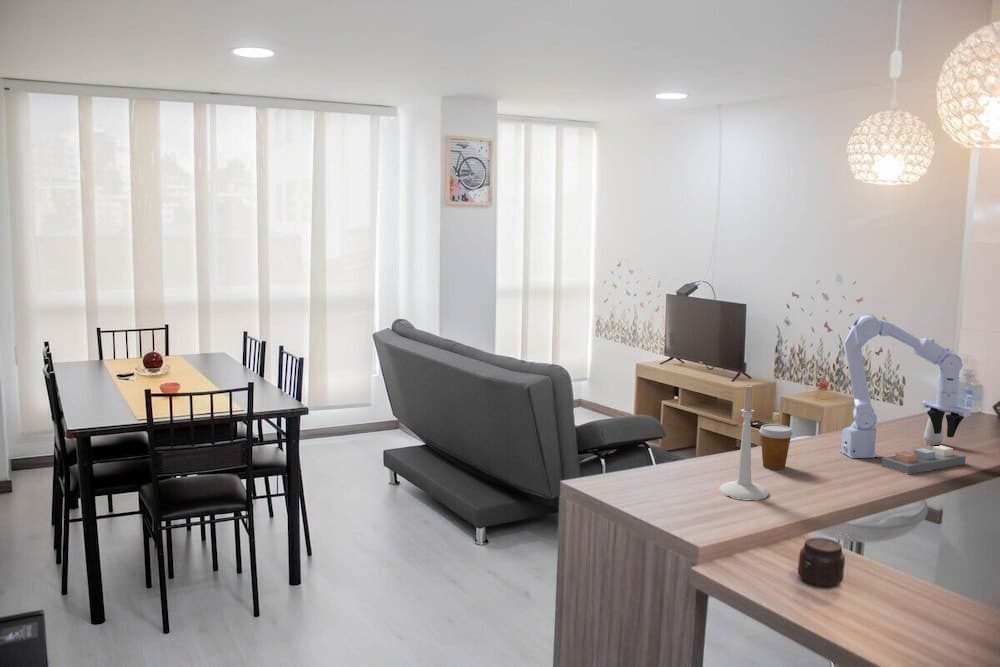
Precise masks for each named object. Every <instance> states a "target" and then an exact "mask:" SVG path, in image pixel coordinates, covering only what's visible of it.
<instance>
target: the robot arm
mask: <svg viewBox="0 0 1000 667" xmlns="http://www.w3.org/2000/svg"><path fill="white" fill-rule="evenodd" d="M878 335H879V336H880V337H888V336H889V337H892V338H893V339H896V340H897V341H899V342H901V343H902V344H905V345H907V346H909V347H911V348H913V349H914V353H915V355H916V356H918V357H920V358H922V359H924V360H925V361H928V362H930V363H931V364H932V365H938V366H939V368H938V374H937V383H936V384H937V385H936V398H935V399H936V400H935V401H930V400H923V401H922V408H924V409H926V408H931V409H930V410H929V411H928V410H927V411H926V412H927V415H928V418H929V417H930V419H931V421H932V425H933V429H934V434H939V433H941V429H942V430H943V421H944V416H945V419H946V425H947V426H946V427H947V428H946V437H947V438H954V437H955V434H956V431H957V429H958V427H959V425H960V424H961V422H962V421H963V419H964V418H970V417H971V410H970V409H966V408H964V407H960V406H958V398H959V397H958V396H959V388H960V387H959V386H960V371H961V370H962V369H963V366H964V363H963V360H962V358H961V357H960V356H959V355H958V354H956V353H955V352H954V351H953V350H950V348H949V347H944V346H942V345H940V344H939V343H936V340H935V339H933V338H927V337H924V338H918V337H917V336H914V335H912V334H911V333H910V332H907V331H906V330H904V329H902V328H900V327H899V326H898V325H895V324H894V323H892V322H890V321H888V320H885V319H883V318H880V317H876V316H875V315H873V314H870V313H863V314H862V315H860V316H859V317H858V318H857V319H856V320H855V321H853V323H852V326H851V328H850V329H849V332H848V334H847V337H846V339H845V340H844V348H845V354H846V360H847V366H848V371H849V377H850V382H851V383H850V384H851V389H852V395H853V402H854V406H853V410H852V416H853V419H854V421H853V422H852V423H851V425H850V426H848V427H844V428H843V429H842V431H841V439H840V440H841V441H840V449H839V452H840V453H842V454H844V455H846V456H848V457H849V458H851V459H869V458H871V459H872V458H874V459H875V457H877V458H881V455H879V454H877V453H875V452H876V438H877V425H876V424H877V421H878V418H877V414H876V413H875V409H874V408H873V407H872V403H871V397H870V392H869V386H868V381H867V374H866V368H865V363H864V357H863V356H864V355H863V351H862V349H863V347H864V345H865V344H866V343H867V342H868V341H869V340H872V339H873V338H875V337H877V336H878ZM945 413H947V414H945Z"/></svg>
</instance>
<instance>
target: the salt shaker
mask: <svg viewBox="0 0 1000 667" xmlns="http://www.w3.org/2000/svg"><path fill="white" fill-rule="evenodd" d="M930 409H931V408H928V410H927V412H928V411H929V410H930ZM923 433H924V434H923V438H924V439H923V440H924V441H925V444H926V445H928V444H930V445H929V446H933V445H939V446H940V445H941V443H942V442H943V441H944V434H943V433H944V432H943V428H942V429H941V433H939V434H934V429H933V425H932V421H931V419H930V417H929V416H928V419H927V423H926V426H925V431H924V432H923Z"/></svg>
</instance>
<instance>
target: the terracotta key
mask: <svg viewBox="0 0 1000 667" xmlns="http://www.w3.org/2000/svg"><path fill="white" fill-rule="evenodd" d="M913 453H914V452H910V451H906V450H904V451H897V452H895V456H896V457H895V460H898V461H901V462H904V463H912V462H916V459H917V455H916V454H913Z"/></svg>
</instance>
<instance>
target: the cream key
mask: <svg viewBox="0 0 1000 667" xmlns="http://www.w3.org/2000/svg"><path fill="white" fill-rule="evenodd" d="M931 450H932V451H935V454H936V455H939V456H943V457H947V456H952V455H953V453H954V448H952V447H950V446H945V445H942V444H940V445H939V446H932V448H931Z"/></svg>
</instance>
